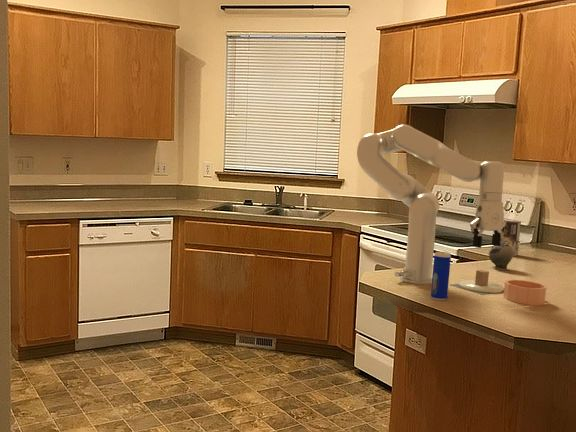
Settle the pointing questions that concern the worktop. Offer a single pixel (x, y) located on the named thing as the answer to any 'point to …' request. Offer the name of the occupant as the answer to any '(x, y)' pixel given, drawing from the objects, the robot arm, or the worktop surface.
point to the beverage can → (440, 275)
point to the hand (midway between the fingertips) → (486, 246)
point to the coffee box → (512, 234)
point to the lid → (481, 284)
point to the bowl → (525, 292)
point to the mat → (472, 291)
